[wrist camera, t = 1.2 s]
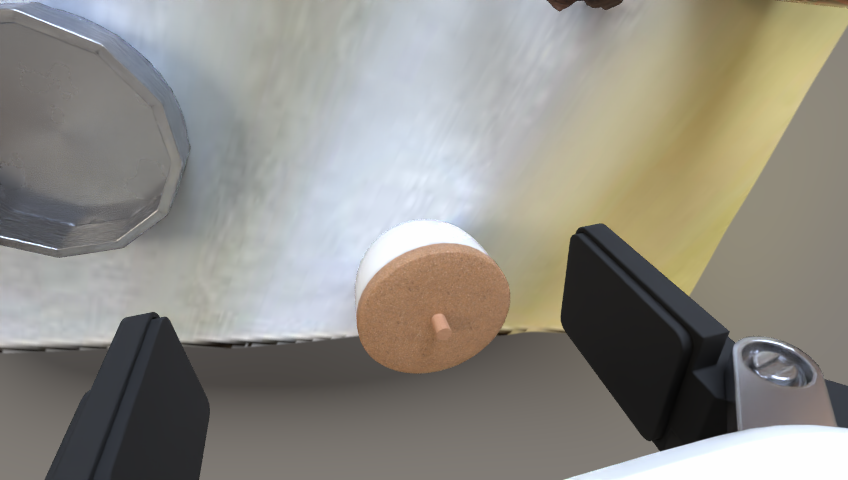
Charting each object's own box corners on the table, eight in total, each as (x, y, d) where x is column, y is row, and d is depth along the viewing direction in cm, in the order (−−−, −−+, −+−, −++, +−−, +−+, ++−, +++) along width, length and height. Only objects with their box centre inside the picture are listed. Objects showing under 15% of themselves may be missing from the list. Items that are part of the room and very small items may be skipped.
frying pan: (-329, -269, 17) (-449, -311, 14) (65, -254, 20) (29, -287, 17) (-6, 241, 29) (-36, 272, 26) (213, 210, 32) (206, 235, 29)
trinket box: (361, 185, 33) (384, 257, 26) (491, 206, 37) (546, 274, 30) (333, 303, 38) (345, 392, 31) (451, 310, 42) (488, 392, 34)
